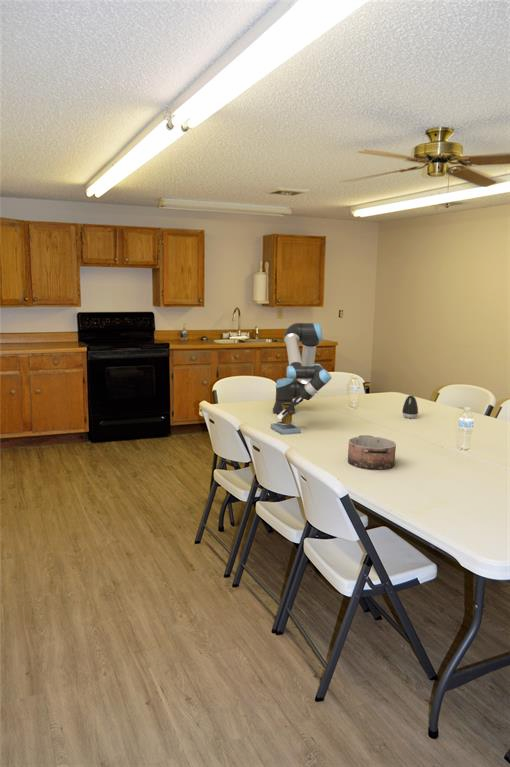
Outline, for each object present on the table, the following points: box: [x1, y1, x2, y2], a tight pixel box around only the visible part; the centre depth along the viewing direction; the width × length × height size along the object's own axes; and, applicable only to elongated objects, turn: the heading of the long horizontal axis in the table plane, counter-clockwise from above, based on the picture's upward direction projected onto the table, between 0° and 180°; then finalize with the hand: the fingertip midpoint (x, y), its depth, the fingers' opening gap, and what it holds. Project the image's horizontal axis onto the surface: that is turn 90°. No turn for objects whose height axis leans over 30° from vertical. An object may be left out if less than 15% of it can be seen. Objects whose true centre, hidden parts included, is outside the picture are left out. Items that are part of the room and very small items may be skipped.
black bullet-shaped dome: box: [401, 395, 419, 419], centre depth 386 cm, size 10×10×15 cm
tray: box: [270, 422, 302, 436], centre depth 342 cm, size 12×16×3 cm
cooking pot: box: [347, 435, 397, 471], centre depth 280 cm, size 30×22×11 cm
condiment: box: [276, 402, 295, 425], centre depth 340 cm, size 7×8×12 cm
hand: (279, 416), depth 341 cm, fingers closed on condiment, 6 cm apart
